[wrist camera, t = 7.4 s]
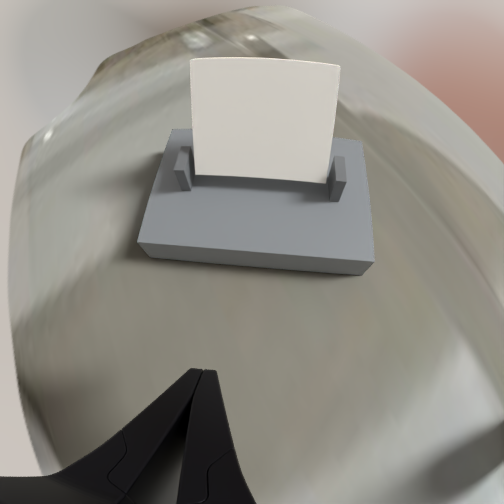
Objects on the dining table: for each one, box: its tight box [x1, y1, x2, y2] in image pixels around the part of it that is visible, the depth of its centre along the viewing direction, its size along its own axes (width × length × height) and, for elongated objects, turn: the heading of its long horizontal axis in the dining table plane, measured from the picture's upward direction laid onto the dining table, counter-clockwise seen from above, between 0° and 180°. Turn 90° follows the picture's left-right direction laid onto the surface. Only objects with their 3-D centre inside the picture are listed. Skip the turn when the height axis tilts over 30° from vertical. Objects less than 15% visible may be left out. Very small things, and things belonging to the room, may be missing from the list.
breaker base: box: [137, 129, 375, 275], centre depth 24 cm, size 12×18×6 cm, turn 84°
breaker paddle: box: [190, 57, 341, 184], centre depth 20 cm, size 2×10×9 cm, turn 84°
